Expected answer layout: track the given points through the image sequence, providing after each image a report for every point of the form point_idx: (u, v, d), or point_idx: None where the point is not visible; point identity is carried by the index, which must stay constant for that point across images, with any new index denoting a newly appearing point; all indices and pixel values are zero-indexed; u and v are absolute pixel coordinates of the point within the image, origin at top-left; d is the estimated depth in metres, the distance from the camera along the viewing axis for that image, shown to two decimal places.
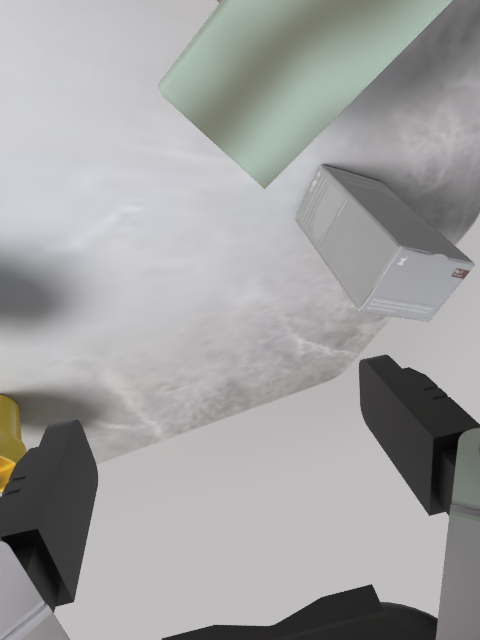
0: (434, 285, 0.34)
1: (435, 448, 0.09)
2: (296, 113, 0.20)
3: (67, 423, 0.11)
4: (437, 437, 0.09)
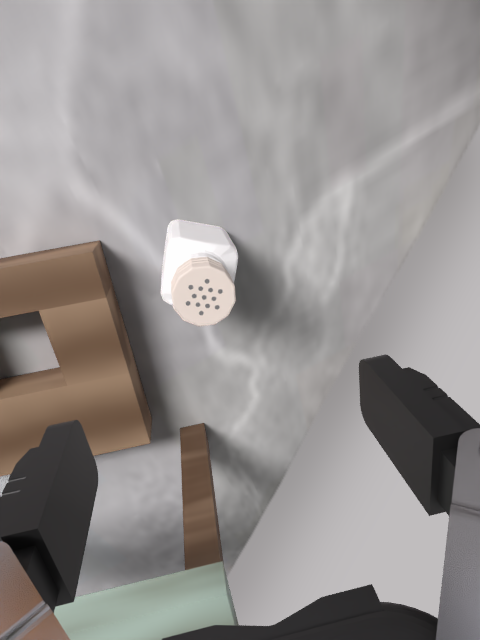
0: None
1: (435, 448, 0.09)
2: None
3: (67, 423, 0.11)
4: (437, 437, 0.09)
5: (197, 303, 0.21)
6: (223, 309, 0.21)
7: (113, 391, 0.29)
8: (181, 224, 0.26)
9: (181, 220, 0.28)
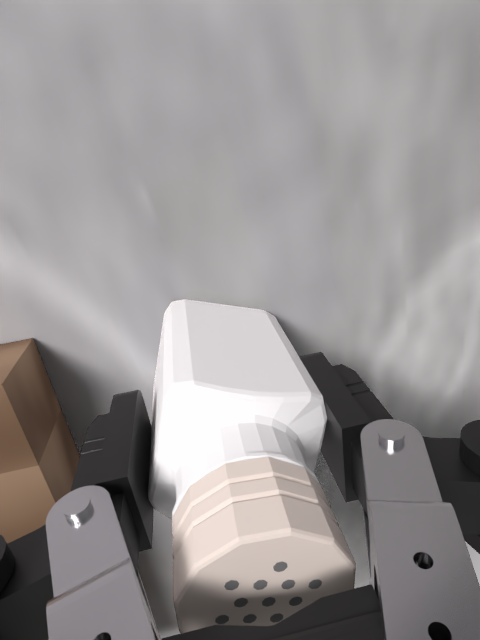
0: None
1: (344, 438, 0.09)
2: None
3: (132, 392, 0.12)
4: (345, 428, 0.09)
5: (249, 616, 0.07)
6: None
7: None
8: (192, 318, 0.13)
9: (191, 302, 0.14)
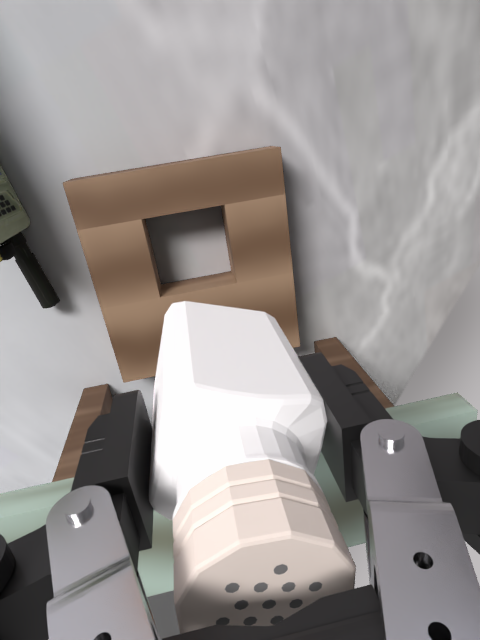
0: None
1: (344, 438, 0.09)
2: None
3: (132, 392, 0.12)
4: (345, 428, 0.09)
5: (249, 618, 0.07)
6: None
7: (276, 290, 0.31)
8: (192, 320, 0.13)
9: (191, 304, 0.14)
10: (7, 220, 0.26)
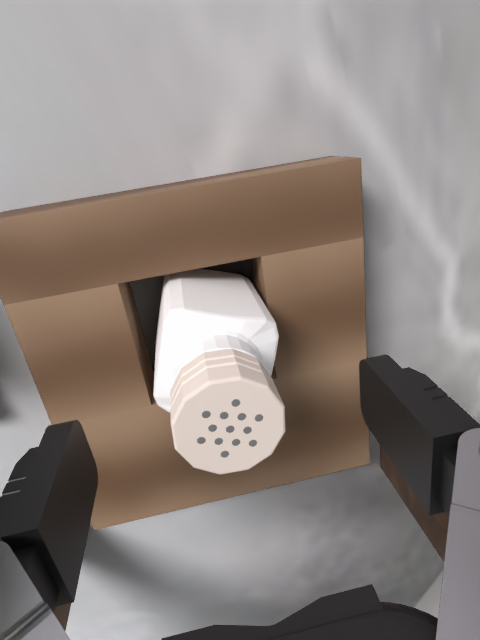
0: None
1: (435, 448, 0.09)
2: None
3: (67, 423, 0.11)
4: (437, 437, 0.09)
5: (218, 438, 0.12)
6: (264, 445, 0.12)
7: (339, 387, 0.20)
8: (184, 276, 0.17)
9: None
10: None
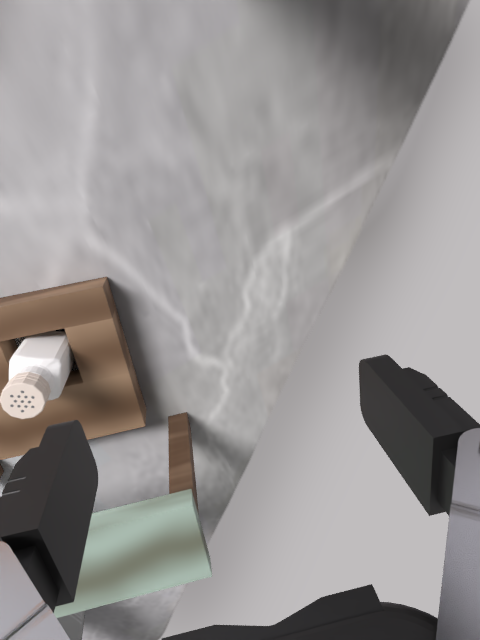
0: None
1: (435, 448, 0.09)
2: None
3: (67, 423, 0.11)
4: (437, 437, 0.09)
5: (18, 405, 0.32)
6: (37, 407, 0.32)
7: (117, 386, 0.40)
8: (32, 336, 0.38)
9: None
10: None
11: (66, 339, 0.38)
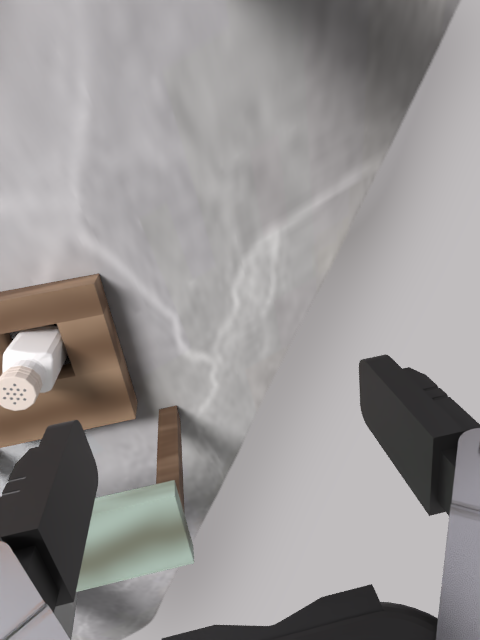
0: None
1: (435, 448, 0.09)
2: None
3: (67, 423, 0.11)
4: (437, 437, 0.09)
5: (11, 397, 0.33)
6: (29, 400, 0.34)
7: (108, 380, 0.41)
8: (26, 331, 0.39)
9: None
10: None
11: (59, 334, 0.40)
